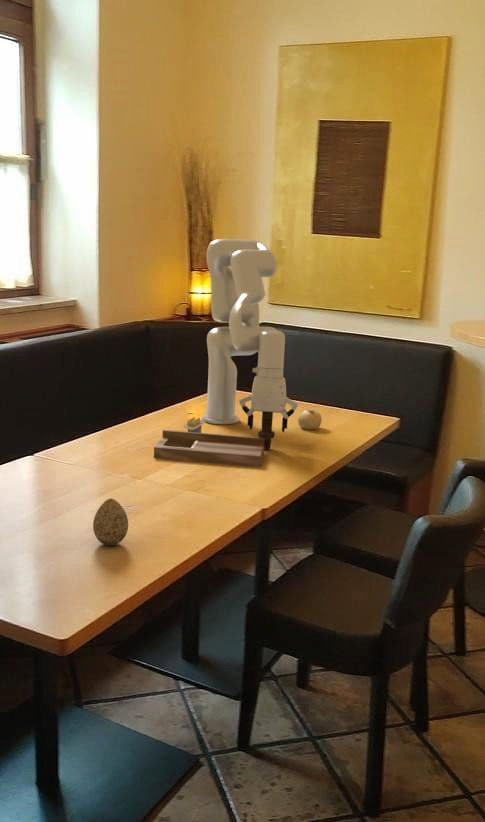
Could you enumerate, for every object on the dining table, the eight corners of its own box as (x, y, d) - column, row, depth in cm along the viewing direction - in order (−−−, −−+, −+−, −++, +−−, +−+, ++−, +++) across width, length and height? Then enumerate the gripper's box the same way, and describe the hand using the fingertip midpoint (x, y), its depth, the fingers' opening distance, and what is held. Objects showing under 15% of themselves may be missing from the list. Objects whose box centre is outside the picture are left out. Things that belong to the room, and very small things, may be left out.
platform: (163, 443, 244) (163, 422, 243) (187, 430, 261) (188, 410, 259) (199, 449, 240) (200, 428, 239) (221, 435, 257) (222, 415, 255)
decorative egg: (85, 545, 167) (85, 499, 165) (108, 535, 173) (109, 490, 171) (112, 554, 163) (113, 507, 161) (134, 543, 169) (135, 498, 167)
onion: (292, 427, 270) (293, 406, 268) (308, 424, 275) (310, 404, 274) (309, 432, 264) (311, 411, 263) (326, 429, 270) (327, 408, 268)
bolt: (275, 447, 245) (278, 399, 242) (274, 452, 240) (277, 402, 237) (256, 446, 246) (259, 397, 242) (255, 450, 241) (257, 401, 237)
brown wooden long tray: (162, 446, 240) (163, 429, 239) (263, 454, 237) (264, 438, 236) (153, 457, 229) (154, 440, 227) (259, 466, 226) (260, 449, 224)
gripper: (239, 373, 235) (236, 430, 238) (299, 377, 233) (295, 434, 237) (242, 368, 242) (239, 424, 246) (300, 372, 240) (296, 428, 244)
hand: (267, 429), depth 241 cm, fingers open, 9 cm apart
